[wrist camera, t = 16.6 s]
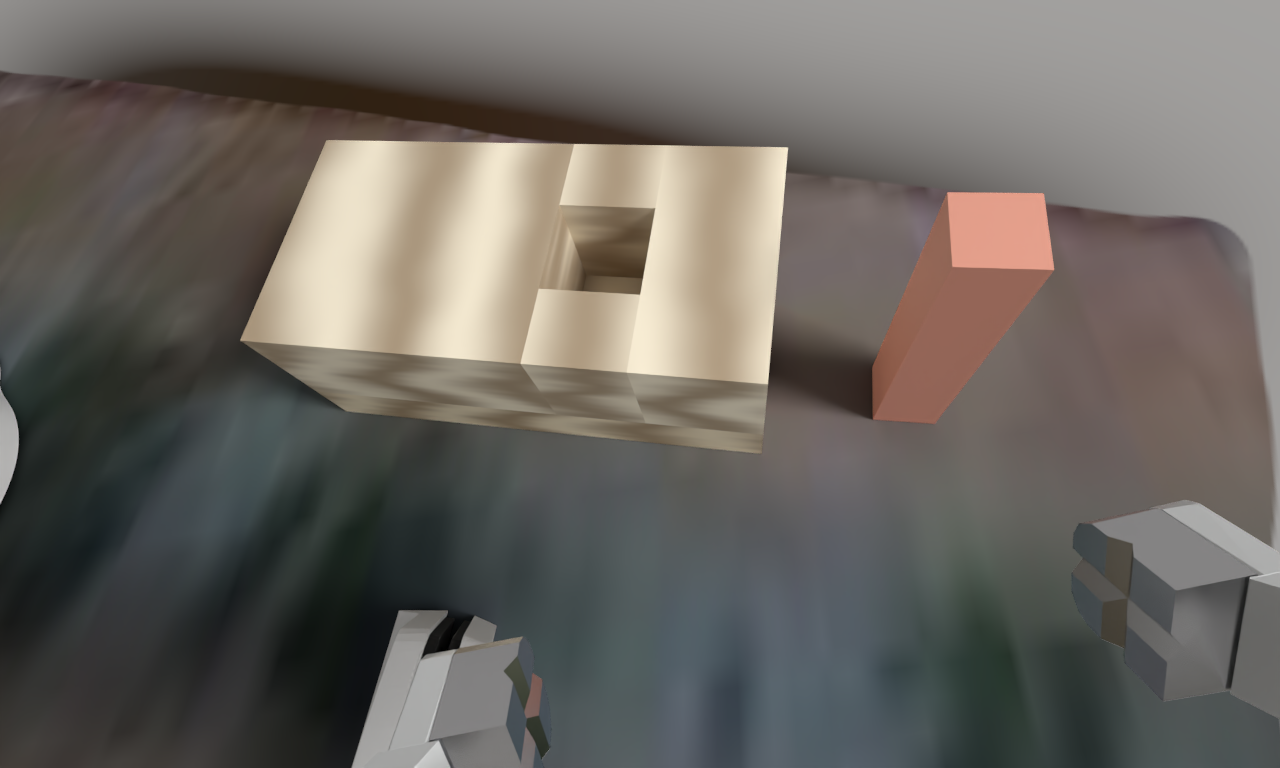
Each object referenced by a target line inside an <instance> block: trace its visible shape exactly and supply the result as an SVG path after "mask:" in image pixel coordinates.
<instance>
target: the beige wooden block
mask: <svg viewBox="0 0 1280 768" xmlns="http://www.w3.org/2000/svg"><path fill="white" fill-rule="evenodd" d="M787 152H788V148H783V147H781V148H780V147H718V146H656V145H654V146H653V145H594V144H591V145H590V144H531V143H467V142H403V141H340V140H327V141H326V143H325V146H324V148H323V150H322V152H321V155H320V157H319V159H318V162H317V164H316V166H315V169H314V171H313V173H312V176H311V178H310V180H309V183H308V185H307V187H306V189H305V192H304V194H303V196H302V199H301V201H300V203H299V206H298V208H297V210H296V213H295V215H294V217H293V220H292V222H291V224H290V226H289V229H288V231H287V233H286V236H285V238H284V240H283V243H282V245H281V247H280V250H279V252H278V254H277V256H276V259H275V261H274V263H273V266H272V268H271V270H270V273H269V275H268V277H267V280H266V282H265V284H264V287H263V289H262V291H261V293H260V296H259V298H258V300H257V303H256V305H255V307H254V310H253V312H252V314H251V317H250V319H249V321H248V323H247V326H246V328H245V330H244V333H243V335H242V337H241V340H240V341H241V342H243V343H244V344H246V345H247V346H249V347H251V348H252V349H254V350H255V351H257V352H258V353H260V354H261V355H263V356H264V357H266V358H267V359H269V360H270V361H272V362H273V363H275V364H276V365H278V366H279V367H281V368H282V369H284V370H285V371H287V372H288V373H290V374H291V375H293V376H294V377H296V378H297V379H299V380H300V381H302V382H303V383H305V384H306V385H308V386H309V387H311V388H312V389H314V390H315V391H317V392H318V393H320V394H321V395H323V396H324V397H326V398H327V399H329V400H330V401H332V402H333V403H335V404H336V405H338V406H339V407H341V408H342V409H344V410H345V411H348V412H358V413H367V414H377V415H387V416H397V417H406V418H416V419H426V420H436V421H445V422H455V423H465V424H475V425H484V426H494V427H504V428H514V429H523V430H533V431H543V432H553V433H562V434H572V435H582V436H592V437H601V438H611V439H621V440H631V441H640V442H650V443H660V444H670V445H679V446H689V447H699V448H709V449H718V450H728V451H738V452H748V453H757V454H761V453H762V442H763V432H764V421H765V410H766V400H767V389H768V378H769V366H770V354H771V342H772V330H773V318H774V306H775V295H776V283H777V271H778V259H779V247H780V235H781V223H782V211H783V200H784V188H785V176H786V163H787Z"/></svg>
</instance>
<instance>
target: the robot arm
mask: <svg viewBox="0 0 1280 768" xmlns="http://www.w3.org/2000/svg"><path fill="white" fill-rule="evenodd" d="M0 378H1V369H0ZM18 446H19V433H18V425H17V421H16V417H15V414H14V412H13V410H12V408H11V406H10V405H9V403H8V401H7V400H6V398H5V397H4V395H3V393H2V391H1V388H0V503H1V501H2V499H3V497H4V495H5V493H6V491H7V489H8V486H9V484H10V481H11V478H12V475H13V472H14V469H15V465H16V460H17V455H18ZM1073 548H1074V549H1075V550H1076V551H1077V552H1078V553H1079V554H1080V556H1081V557H1082V560H1081V561H1080V562H1079V564H1078V565H1077V566H1076V568H1075V569H1074V570H1073V572H1072V594H1073V597H1074V600H1075V602H1076V605H1077V608H1078V611H1079V612H1080V614H1081V615H1082V617H1083V619H1084V620H1085V622H1086V623H1087V625H1088V626H1089V627H1090V628H1091V629H1092V630H1093V631H1094V632H1095V633H1096V634H1097V635H1098V636H1099V637H1100V638H1101V639H1103V640H1105V641H1108V642H1110V643H1112V644H1115V645H1117V646H1119V647H1122V648H1124V662H1125V664H1126V665H1127V666H1128V667H1129V668H1130V669H1131V670H1132V671H1133V672H1134V673H1135V674H1136V675H1137V676H1138V677H1139V678H1140V679H1141V680H1142V681H1143V682H1144V683H1145V684H1146V685H1147V686H1148V687H1149V688H1150V689H1151V690H1152V691H1153V692H1154V693H1155V694H1156V695H1157V696H1158V697H1159V698H1160V699H1161V700H1162V701H1169V700H1175V699H1181V698H1187V697H1193V696H1199V695H1205V694H1211V693H1217V692H1223V691H1229V690H1231V692H1230V694H1232V695H1234V696H1236V697H1238V698H1240V699H1242V700H1244V701H1245V702H1247V703H1249V704H1251V705H1253V706H1255V707H1257V708H1259V709H1261V710H1263V711H1265V712H1267V713H1269V714H1271V715H1273V716H1275V717H1277V718H1279V719H1280V553H1279V552H1277V551H1276V550H1274V549H1273V548H1271V547H1269V546H1268V545H1266V544H1264V543H1263V542H1261V541H1260V540H1258V539H1256V538H1255V537H1253V536H1251V535H1250V534H1248V533H1247V532H1245V531H1243V530H1242V529H1240V528H1238V527H1237V526H1235V525H1234V524H1232V523H1230V522H1229V521H1227V520H1225V519H1224V518H1222V517H1221V516H1219V515H1217V514H1216V513H1214V512H1212V511H1211V510H1209V509H1208V508H1206V507H1204V506H1203V505H1201V504H1199V503H1196V502H1192V501H1188V500H1182V501H1178V502H1174V503H1169V504H1165V505H1160V506H1156V507H1151V508H1149V509H1148V510H1141V511H1137V512H1132V513H1127V514H1122V515H1117V516H1113V517H1108V518H1103V519H1098V520H1094V521H1089V522H1084V523H1079V524H1078V526H1077V528H1076V530H1075V532H1074V537H1073ZM533 666H534V654H533V651H532V649H531V646H530V643H529V641H528V639H526V638H525V637H518V638H513V639H507V640H501V641H496V642H490V643H485V644H479V645H473V646H468V647H462V648H459V649H454V650H449V651H443V652H438V653H432V654H427V655H425V656H424V657H423V658H422V659H421V660H420V662H419V663H418V666H417V669H416V672H415V675H414V678H413V681H412V683H411V686H410V689H409V692H408V695H407V698H406V700H405V703H404V706H403V709H402V712H401V715H400V718H399V720H398V723H397V726H396V729H395V732H394V735H393V737H392V740H391V743H390V746H389V749H388V750H387V751H383V752H378V753H377V754H376V755H375V756H374V757H373V758H372V759H371V760H370V761H369V762H368V763H367V764H366V765H365V766H364V767H363V768H544V766H543V763H542V759H543V757H544V756H545V754H546V753H547V752H548V750H549V749H550V741H551V719H550V707H549V702H548V697H547V692H546V689H545V686H544V683H543V680H542V679H541V678H539V677H538V676H536V675H535V674H533Z"/></svg>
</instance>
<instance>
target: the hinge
mask: <svg viewBox="0 0 1280 768" xmlns="http://www.w3.org/2000/svg"><path fill="white" fill-rule="evenodd" d="M447 613H448V611H435V610H399V612H398V615H397V619H396V622H395V625H394V629H393V632H392V635H391V639H390V642H389V645H388V649H387V652H386V655H385V659H384V662H383V665H382V669H381V672H380V675H379V678H378V682H377V685H376V688H375V692H374V695H373V698H372V702H371V705H370V708H369V712H368V715H367V718H366V722H365V725H364V728H363V732H362V735H361V738H360V741H359V745H358V748H357V751H356V755H355V758H354V761H353V765H352V768H363V767H364V766H365V765H366V764H367V763H368V762H369V761H370V760H371V759H372V758H373V757H374V756H375V755H376V754H377V753H378V752H383V751H387V750H388V749H389V746H390V743H391V740H392V737H393V735H394V732H395V729H396V726H397V723H398V720H399V718H400V715H401V712H402V709H403V706H404V703H405V700H406V698H407V695H408V692H409V689H410V686H411V683H412V681H413V678H414V675H415V672H416V669H417V666H418V663H419V662H420V660H421V659H422V658H423V657H424V656H425V655H427V654H432V653H438V652H443V651H446V649H447V645H448V642H449V638H450V634H451V631H452V627H453V623H454V620H455V619H454V618H449V617H447ZM496 627H497V626H496V625H494V624H492V623H490V622H488V621H486V620H483V619H481V618H479V617H477V616H474V618H473V619H472V621H471V622H470V621H465V620H464V621H463V623H462V624H461V626H460V627H459V629H458V631H457V632H456V634H455V635H454V637H453V638H452V640H451V643H450V646H449V648H448V651H449V650H454V649H459V648H462V647H468V646H473V645H479V644H485V643H490V642H493V639H494V635H495V631H496Z"/></svg>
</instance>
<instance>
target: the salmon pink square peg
mask: <svg viewBox="0 0 1280 768" xmlns="http://www.w3.org/2000/svg"><path fill="white" fill-rule="evenodd" d="M1053 271H1054V264H1053V257H1052V250H1051V243H1050V235H1049V228H1048V221H1047V213H1046V206H1045V199H1044V193H952V192H947V195H946V197H945V199H944V202H943V204H942V206H941V209H940V211H939V213H938V215H937V218H936V220H935V222H934V225H933V227H932V229H931V232H930V234H929V236H928V239H927V241H926V243H925V246H924V248H923V250H922V253H921V255H920V257H919V260H918V262H917V264H916V267H915V269H914V271H913V274H912V276H911V278H910V281H909V283H908V285H907V288H906V290H905V292H904V295H903V297H902V299H901V302H900V304H899V306H898V309H897V311H896V313H895V315H894V318H893V320H892V322H891V325H890V327H889V329H888V332H887V334H886V336H885V339H884V341H883V343H882V346H881V348H880V350H879V353H878V355H877V357H876V360H875V362H874V364H873V367H872V384H873V420H886V421H900V422H915V423H930V424H935V423H936V421H937V420H938V419H939V418H940V416H941V415H942V414H943V412H944V411H945V410H946V409H947V407H948V406H949V405H950V403H951V402H952V401H953V400H954V398H955V397H956V396H957V394H958V393H959V392H960V391H961V389H962V388H963V387H964V385H965V384H966V383H967V382H968V380H969V379H970V378H971V376H972V375H973V374H974V373H975V371H976V370H977V369H978V367H979V366H980V365H981V364H982V362H983V361H984V360H985V358H986V357H987V356H988V354H989V353H990V352H991V351H992V349H993V348H994V347H995V345H996V344H997V343H998V342H999V340H1000V339H1001V338H1002V336H1003V335H1004V334H1005V333H1006V331H1007V330H1008V329H1009V327H1010V326H1011V325H1012V324H1013V322H1014V321H1015V320H1016V318H1017V317H1018V316H1019V315H1020V313H1021V312H1022V311H1023V309H1024V308H1025V307H1026V306H1027V304H1028V303H1029V302H1030V300H1031V299H1032V298H1033V297H1034V295H1035V294H1036V293H1037V291H1038V290H1039V289H1040V288H1041V286H1042V285H1043V284H1044V282H1045V281H1046V280H1047V279H1048V277H1049V276H1050V275H1051V273H1052V272H1053Z"/></svg>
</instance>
